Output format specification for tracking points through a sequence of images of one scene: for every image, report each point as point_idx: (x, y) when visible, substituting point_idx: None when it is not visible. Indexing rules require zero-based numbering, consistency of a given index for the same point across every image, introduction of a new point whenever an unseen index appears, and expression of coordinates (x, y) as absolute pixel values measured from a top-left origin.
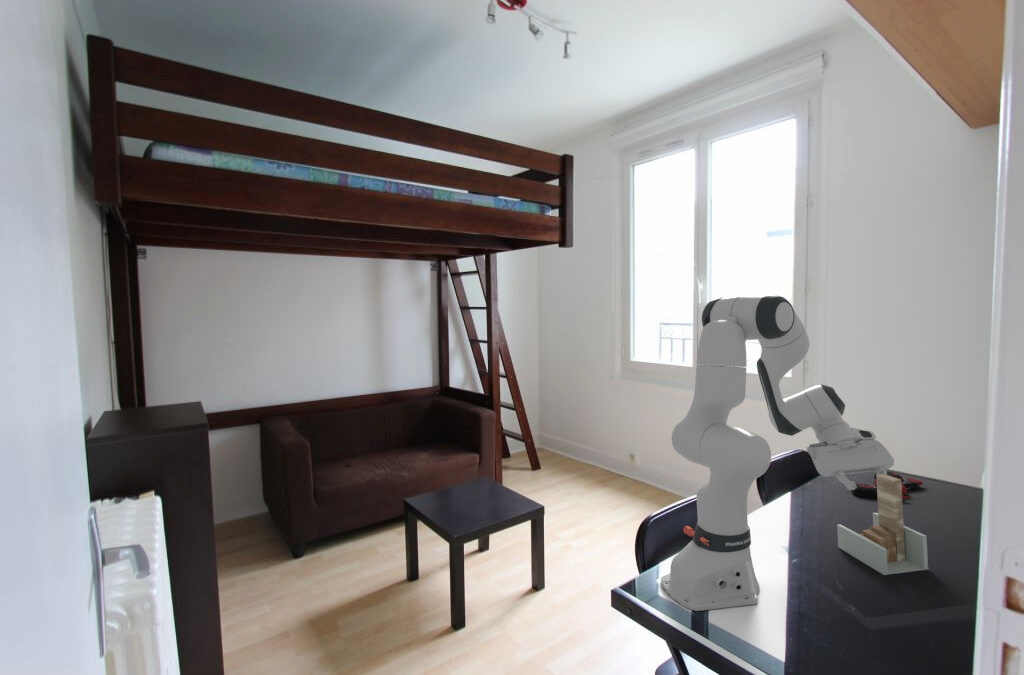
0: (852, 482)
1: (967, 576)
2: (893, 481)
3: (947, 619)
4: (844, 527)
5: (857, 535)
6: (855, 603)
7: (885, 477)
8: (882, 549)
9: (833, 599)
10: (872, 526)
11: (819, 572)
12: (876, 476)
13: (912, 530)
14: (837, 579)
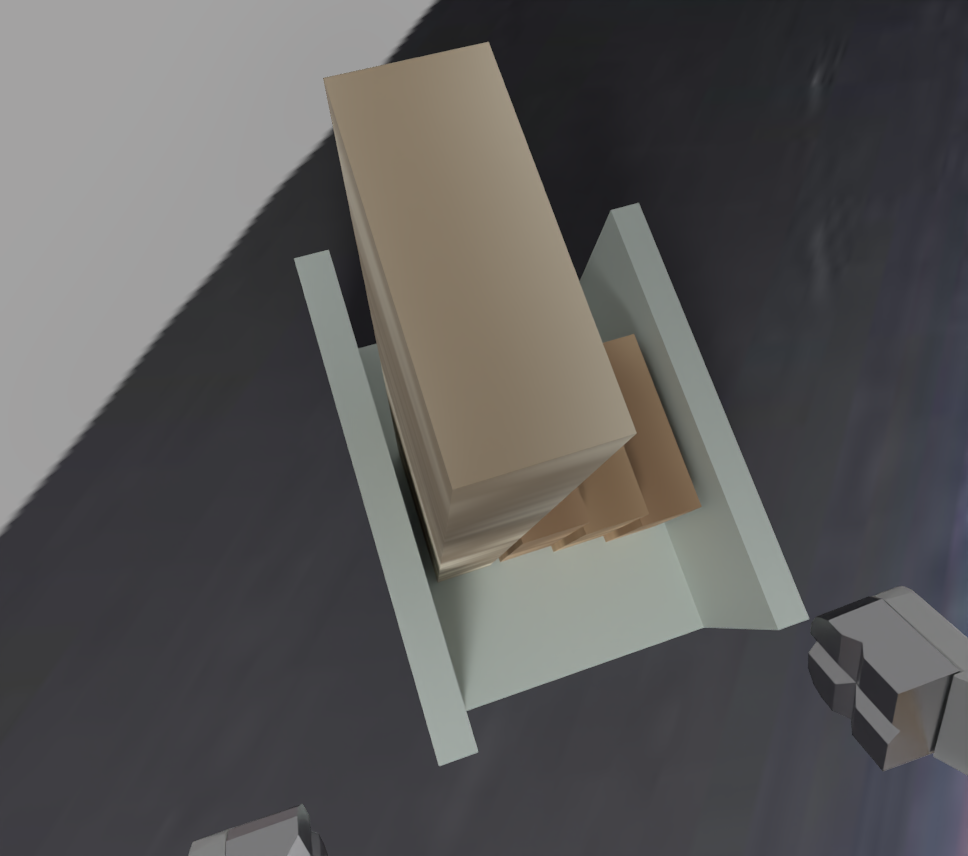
0: (908, 656)
1: (136, 370)
2: (486, 60)
3: (481, 24)
4: (766, 564)
5: (719, 413)
6: (794, 112)
7: (541, 227)
8: (639, 205)
9: (876, 137)
10: (576, 510)
11: (881, 368)
12: (621, 445)
13: (340, 351)
14: (811, 303)
